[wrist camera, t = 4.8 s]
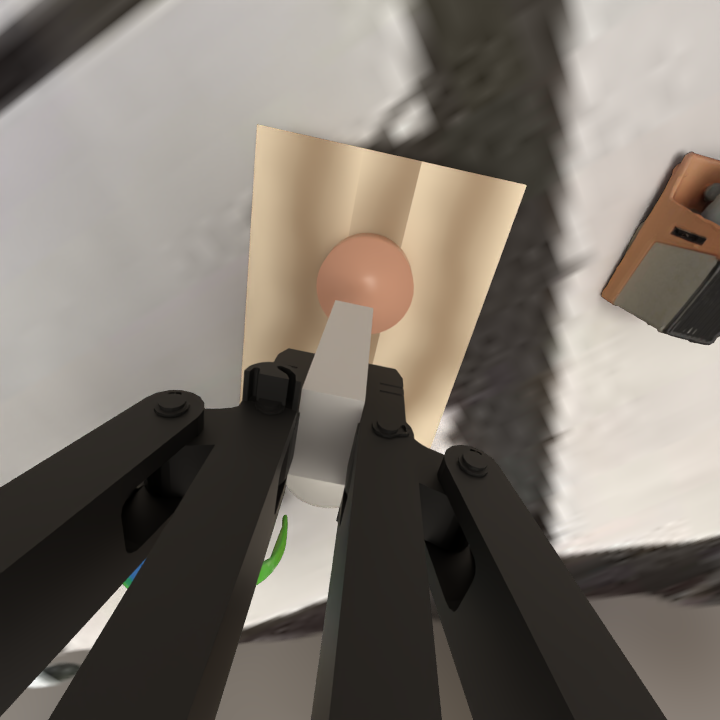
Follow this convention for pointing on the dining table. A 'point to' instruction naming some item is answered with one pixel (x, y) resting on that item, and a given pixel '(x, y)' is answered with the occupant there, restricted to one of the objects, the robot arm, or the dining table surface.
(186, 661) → the robot arm
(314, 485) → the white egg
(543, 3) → the dining table surface
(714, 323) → the electronic device
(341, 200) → the switch box
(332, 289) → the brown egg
